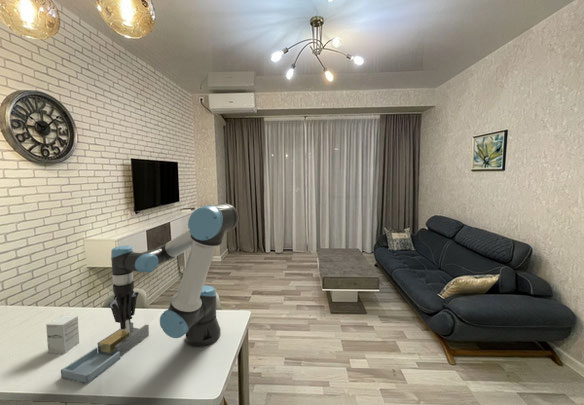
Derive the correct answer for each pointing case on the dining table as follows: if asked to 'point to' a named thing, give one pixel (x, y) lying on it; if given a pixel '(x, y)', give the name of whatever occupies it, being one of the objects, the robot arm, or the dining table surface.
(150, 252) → the robot arm
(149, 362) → the dining table surface
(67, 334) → the supplement box
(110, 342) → the yellow brown block
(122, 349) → the slot bed
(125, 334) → the chip
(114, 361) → the tray
